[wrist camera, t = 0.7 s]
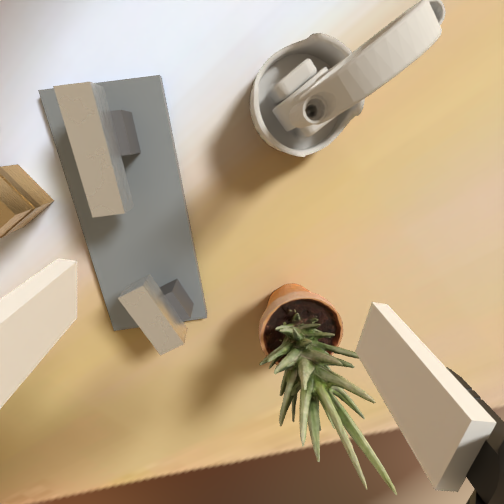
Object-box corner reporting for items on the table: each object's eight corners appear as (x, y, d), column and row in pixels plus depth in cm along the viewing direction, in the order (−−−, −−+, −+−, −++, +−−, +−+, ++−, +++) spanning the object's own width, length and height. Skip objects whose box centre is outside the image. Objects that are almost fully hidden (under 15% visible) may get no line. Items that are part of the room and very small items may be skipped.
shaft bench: (43, 91, 33) (16, 85, 29) (161, 76, 33) (151, 68, 29) (116, 326, 42) (103, 347, 38) (207, 313, 43) (204, 333, 38)
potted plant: (337, 313, 44) (456, 513, 21) (276, 345, 45) (324, 568, 22) (304, 254, 41) (401, 412, 17) (239, 290, 42) (250, 483, 19)
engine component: (230, 94, 34) (285, 171, 37) (229, 41, 15) (343, 210, 18) (315, 22, 32) (365, 109, 35) (440, -146, 13) (526, 77, 16)
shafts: (70, 91, 29) (53, 86, 26) (133, 83, 29) (122, 77, 26) (141, 342, 38) (134, 358, 35) (189, 335, 38) (185, 351, 36)
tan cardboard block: (-14, 192, 36) (-70, 205, 29) (18, 163, 35) (-32, 169, 28) (24, 228, 37) (-20, 247, 31) (55, 200, 37) (17, 215, 30)
